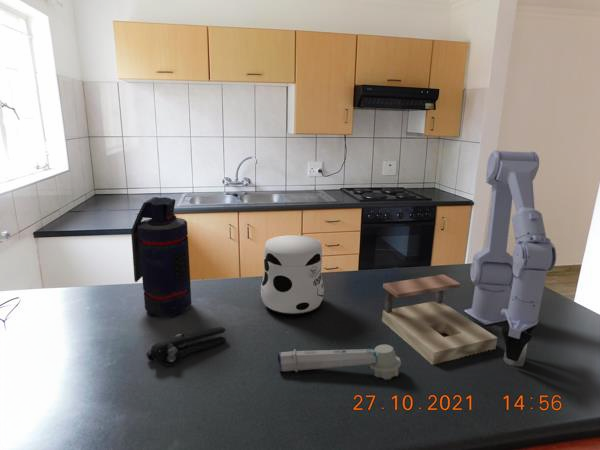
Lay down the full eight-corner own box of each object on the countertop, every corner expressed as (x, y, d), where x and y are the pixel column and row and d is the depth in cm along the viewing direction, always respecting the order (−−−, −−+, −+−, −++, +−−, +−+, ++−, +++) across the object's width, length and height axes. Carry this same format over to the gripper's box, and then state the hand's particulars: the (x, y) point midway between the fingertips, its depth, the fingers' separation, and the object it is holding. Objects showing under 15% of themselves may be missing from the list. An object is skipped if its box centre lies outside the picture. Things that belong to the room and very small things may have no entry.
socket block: (438, 309, 113) (443, 274, 110) (497, 348, 95) (504, 307, 92) (379, 320, 106) (383, 283, 103) (430, 365, 88) (436, 321, 85)
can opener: (155, 376, 83) (153, 351, 81) (144, 359, 88) (142, 336, 87) (233, 347, 93) (232, 325, 92) (219, 334, 99) (218, 313, 97)
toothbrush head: (278, 346, 87) (396, 336, 86) (282, 372, 89) (398, 363, 88) (276, 360, 82) (401, 350, 81) (281, 388, 84) (403, 379, 83)
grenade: (196, 299, 116) (191, 195, 107) (184, 320, 104) (177, 205, 96) (148, 297, 116) (139, 193, 108) (130, 318, 104) (118, 204, 96)
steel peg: (512, 354, 93) (517, 327, 91) (527, 364, 89) (533, 336, 87) (499, 357, 92) (504, 330, 90) (514, 368, 88) (519, 339, 86)
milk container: (335, 309, 112) (339, 247, 107) (281, 327, 102) (282, 259, 97) (300, 287, 125) (301, 230, 120) (249, 300, 116) (249, 240, 111)
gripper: (512, 281, 94) (502, 333, 98) (497, 303, 83) (487, 361, 87) (547, 289, 90) (536, 343, 94) (536, 314, 79) (524, 374, 83)
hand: (514, 353), depth 90 cm, fingers open, 5 cm apart
